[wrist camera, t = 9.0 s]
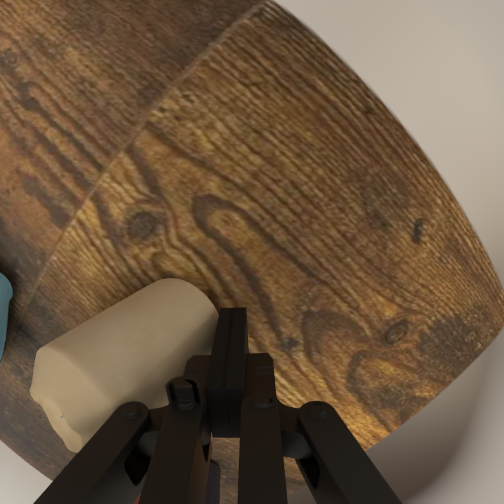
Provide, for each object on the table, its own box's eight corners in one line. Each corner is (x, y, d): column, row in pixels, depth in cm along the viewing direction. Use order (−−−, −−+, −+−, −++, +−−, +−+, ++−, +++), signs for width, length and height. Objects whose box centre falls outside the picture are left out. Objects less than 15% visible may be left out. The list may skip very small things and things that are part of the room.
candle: (130, 291, 19) (0, 367, 10) (194, 262, 17) (36, 357, 8) (171, 366, 20) (66, 464, 11) (240, 352, 17) (130, 487, 8)
